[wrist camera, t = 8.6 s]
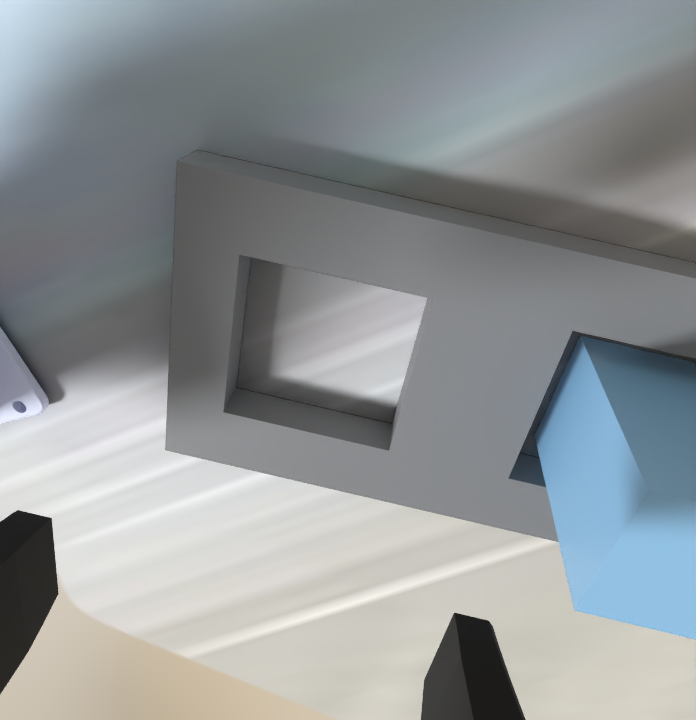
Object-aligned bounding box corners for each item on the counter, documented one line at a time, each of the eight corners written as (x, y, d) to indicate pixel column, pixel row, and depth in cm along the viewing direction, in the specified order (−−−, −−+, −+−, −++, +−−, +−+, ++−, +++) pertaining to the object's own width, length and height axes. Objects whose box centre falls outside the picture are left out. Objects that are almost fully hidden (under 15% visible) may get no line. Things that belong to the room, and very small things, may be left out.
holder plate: (685, 542, 22) (700, 575, 21) (181, 424, 22) (165, 450, 21) (853, 298, 17) (888, 322, 16) (196, 149, 17) (177, 160, 16)
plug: (648, 463, 21) (735, 648, 15) (534, 435, 21) (574, 610, 15) (707, 365, 19) (836, 535, 13) (580, 335, 19) (648, 490, 13)
